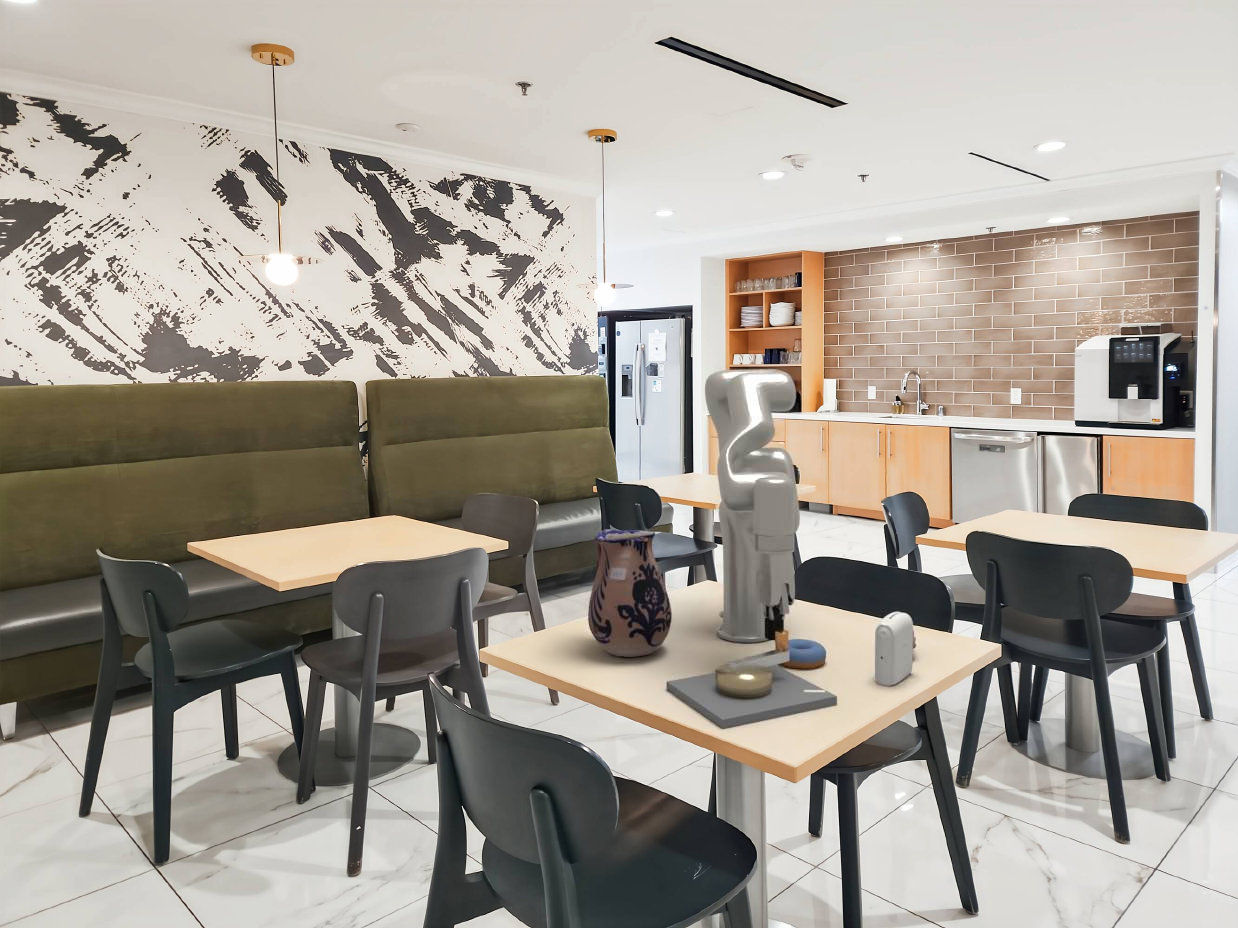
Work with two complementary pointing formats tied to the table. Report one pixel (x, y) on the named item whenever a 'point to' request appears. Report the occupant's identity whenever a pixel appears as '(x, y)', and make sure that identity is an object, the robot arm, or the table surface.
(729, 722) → the stand
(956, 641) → the table surface
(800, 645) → the doughnut
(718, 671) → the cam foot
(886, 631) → the photo printer
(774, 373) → the robot arm
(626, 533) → the ceramic pitcher
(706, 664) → the table surface
